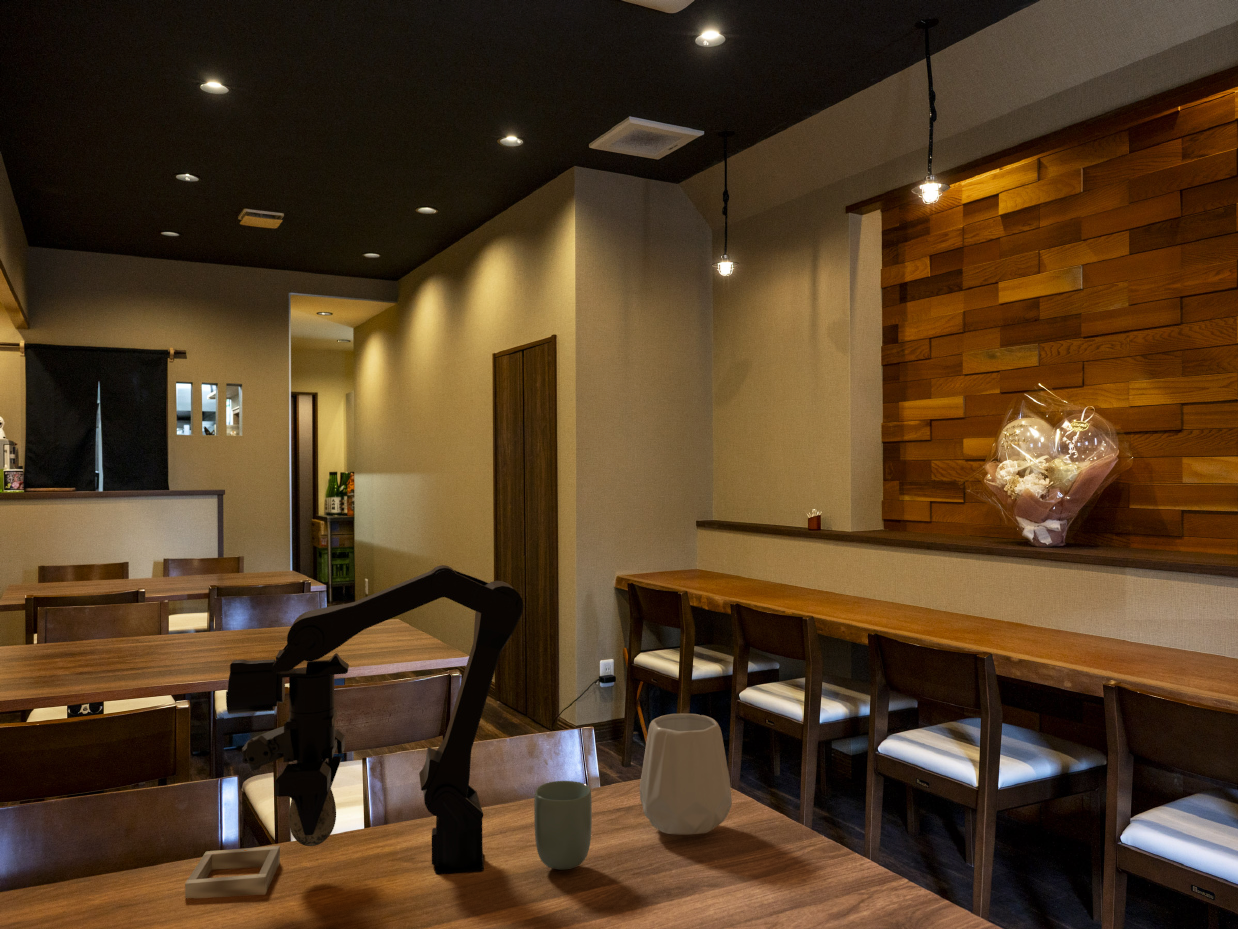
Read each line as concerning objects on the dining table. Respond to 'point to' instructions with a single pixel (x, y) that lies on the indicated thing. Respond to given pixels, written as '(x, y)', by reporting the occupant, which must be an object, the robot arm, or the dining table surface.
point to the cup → (563, 823)
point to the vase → (685, 775)
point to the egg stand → (233, 885)
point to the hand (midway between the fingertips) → (312, 825)
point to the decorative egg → (323, 825)
